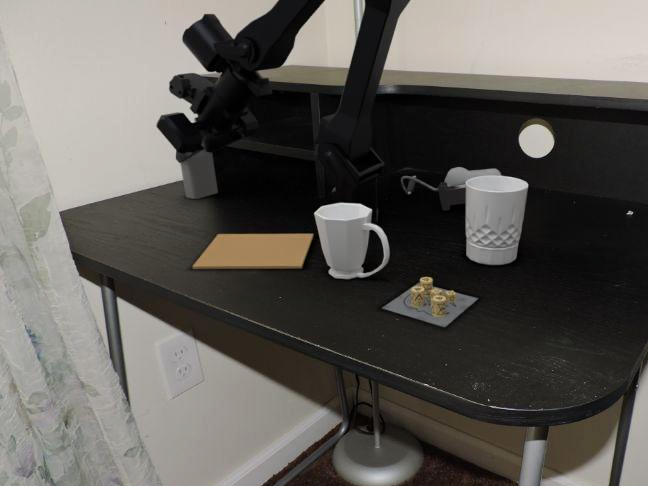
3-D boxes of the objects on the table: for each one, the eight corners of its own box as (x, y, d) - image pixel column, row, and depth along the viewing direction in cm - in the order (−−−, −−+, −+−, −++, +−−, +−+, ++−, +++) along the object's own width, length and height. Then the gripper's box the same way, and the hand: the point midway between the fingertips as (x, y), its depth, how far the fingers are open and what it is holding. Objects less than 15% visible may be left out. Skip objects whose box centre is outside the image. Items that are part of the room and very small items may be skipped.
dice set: (441, 318, 61) (442, 302, 60) (401, 306, 64) (401, 291, 63) (463, 300, 65) (463, 285, 64) (424, 290, 67) (424, 275, 66)
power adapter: (184, 196, 102) (172, 127, 97) (208, 189, 106) (197, 123, 101) (195, 199, 100) (184, 129, 95) (219, 192, 105) (209, 124, 99)
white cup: (484, 271, 72) (489, 194, 68) (450, 251, 78) (454, 179, 74) (533, 260, 75) (541, 186, 71) (497, 242, 82) (503, 172, 77)
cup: (341, 257, 76) (339, 199, 73) (404, 274, 72) (404, 212, 68) (306, 275, 71) (301, 213, 68) (371, 294, 66) (369, 229, 63)
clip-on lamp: (390, 216, 101) (482, 211, 91) (381, 182, 99) (474, 172, 88) (423, 194, 110) (510, 187, 99) (415, 162, 107) (504, 151, 97)
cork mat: (313, 236, 84) (313, 233, 84) (301, 268, 73) (301, 265, 73) (218, 236, 84) (218, 234, 84) (192, 269, 73) (192, 266, 73)
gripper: (236, 52, 99) (198, 114, 108) (153, 59, 84) (116, 130, 93) (278, 102, 99) (236, 159, 109) (202, 118, 84) (161, 183, 94)
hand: (190, 157), depth 101 cm, fingers closed on power adapter, 5 cm apart
